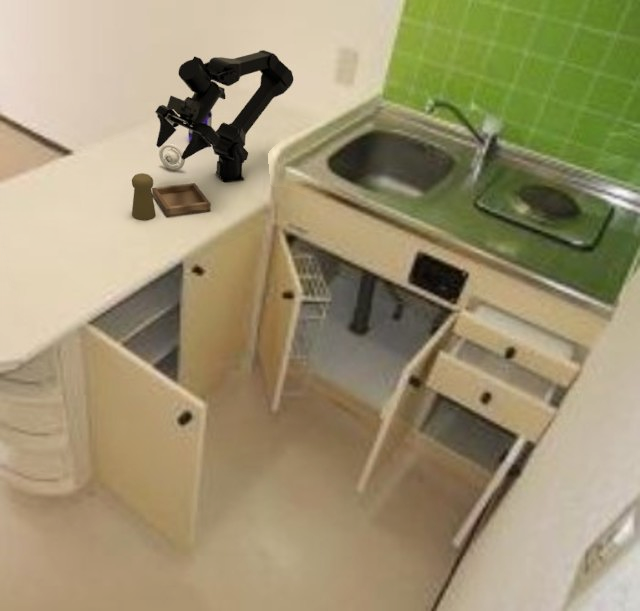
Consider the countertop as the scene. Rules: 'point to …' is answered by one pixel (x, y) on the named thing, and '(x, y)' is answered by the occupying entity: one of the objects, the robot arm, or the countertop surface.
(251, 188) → the countertop surface
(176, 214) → the walnut tray
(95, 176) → the countertop surface
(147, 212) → the cork
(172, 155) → the ring around a ball
